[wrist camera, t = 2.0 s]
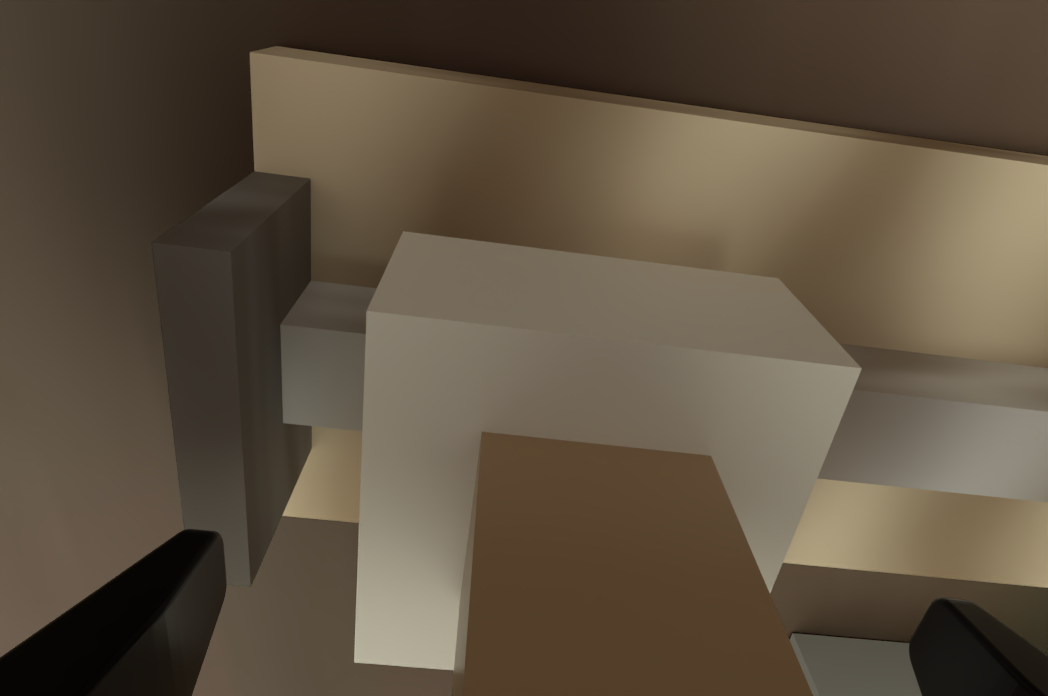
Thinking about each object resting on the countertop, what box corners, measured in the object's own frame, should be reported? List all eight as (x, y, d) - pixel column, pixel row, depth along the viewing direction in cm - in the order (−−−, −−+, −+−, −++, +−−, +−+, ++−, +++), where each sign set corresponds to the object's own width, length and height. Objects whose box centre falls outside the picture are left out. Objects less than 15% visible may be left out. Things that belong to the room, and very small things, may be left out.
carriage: (753, 251, 12) (1246, 784, 4) (674, 513, 15) (872, 1154, 7) (413, 208, 12) (183, 706, 4) (396, 486, 15) (241, 1135, 6)
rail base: (1342, 197, 15) (1762, 302, 10) (1100, 554, 19) (1302, 748, 14) (276, 46, 13) (133, 78, 8) (287, 474, 17) (198, 661, 13)
